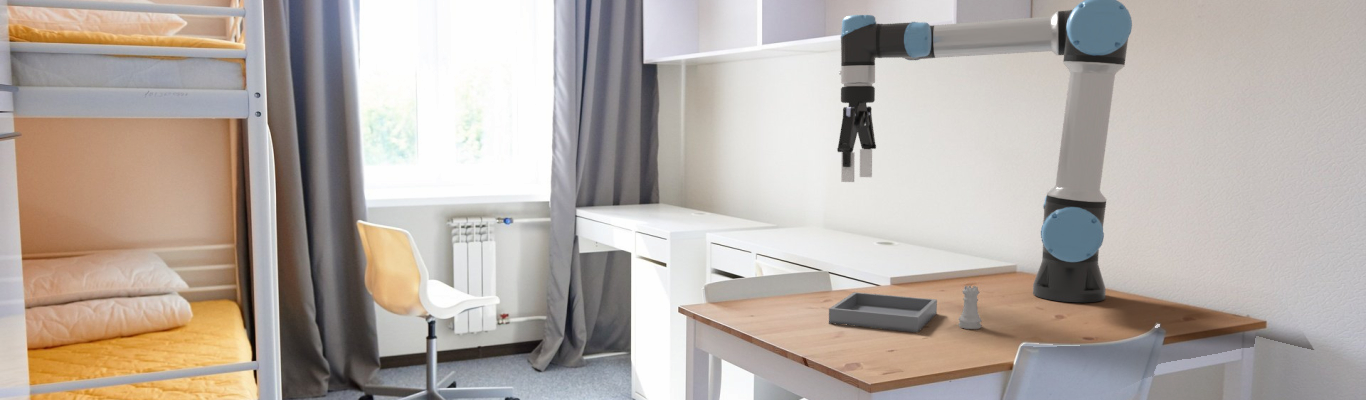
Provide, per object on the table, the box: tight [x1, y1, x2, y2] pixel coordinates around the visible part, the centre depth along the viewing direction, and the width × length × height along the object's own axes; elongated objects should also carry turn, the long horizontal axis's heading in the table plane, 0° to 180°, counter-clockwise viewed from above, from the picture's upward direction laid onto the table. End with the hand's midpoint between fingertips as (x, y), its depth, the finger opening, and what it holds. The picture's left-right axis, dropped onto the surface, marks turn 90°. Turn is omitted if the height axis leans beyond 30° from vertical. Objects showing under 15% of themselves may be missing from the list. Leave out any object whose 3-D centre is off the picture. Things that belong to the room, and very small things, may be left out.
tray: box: [828, 291, 938, 333], centre depth 191 cm, size 18×18×3 cm
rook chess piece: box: [957, 285, 983, 330], centre depth 184 cm, size 4×4×8 cm
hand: (857, 179), depth 214 cm, fingers open, 13 cm apart
